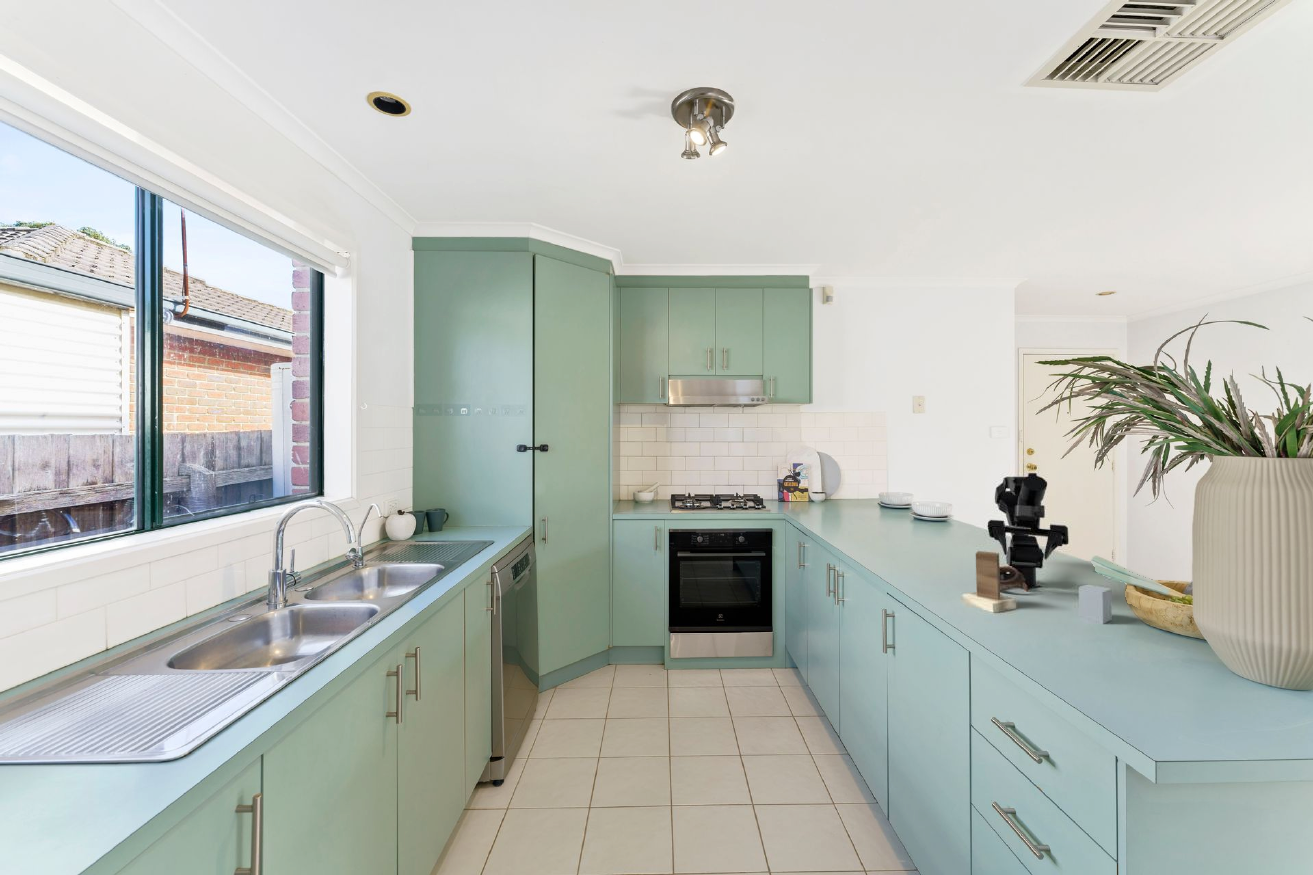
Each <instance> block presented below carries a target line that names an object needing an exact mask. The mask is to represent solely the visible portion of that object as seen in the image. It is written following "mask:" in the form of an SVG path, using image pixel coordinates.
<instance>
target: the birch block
mask: <svg viewBox="0 0 1313 875" xmlns="http://www.w3.org/2000/svg"><path fill="white" fill-rule="evenodd" d="M962 604H964V605H967V604H968V605H967V606H971V607H973V606H974V607H973V608H976V609H979V608H981V609H980V610H982V609H983V610H984V611H985V610H987V611H986V612H988V611H989V612H988V613H992V614H994V613H995V614H996V613H1000V612H1004V611H1003V610H1005V611H1009V610H1014V609H1017V599H1016V598H1013V597H1010V596H1005V595H1003V594H1000V597H999V599H998V600H997V599H991V598H984V597H978V596H977V591H974V592H968V593H963V594H962ZM999 611H1000V612H999Z"/></svg>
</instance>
